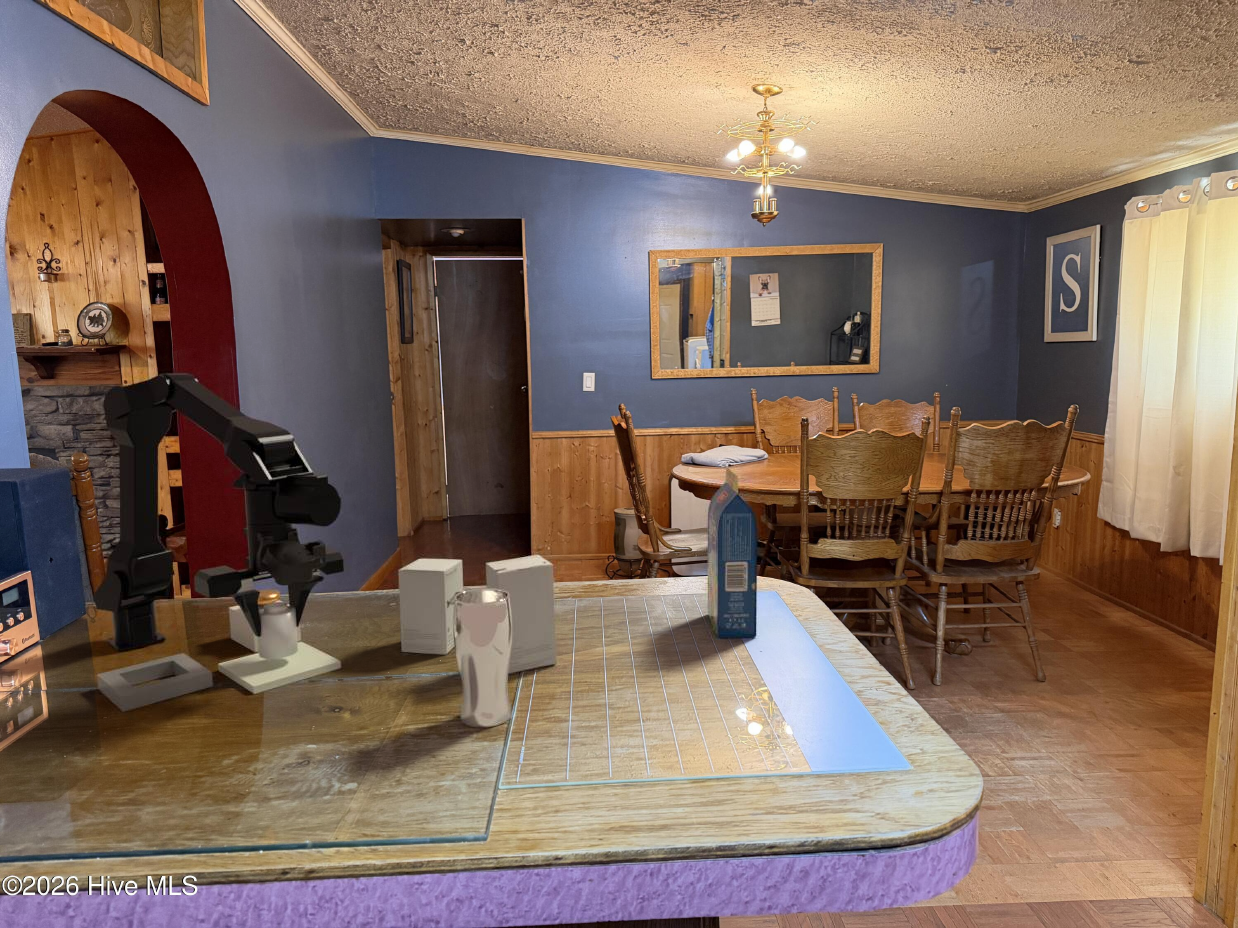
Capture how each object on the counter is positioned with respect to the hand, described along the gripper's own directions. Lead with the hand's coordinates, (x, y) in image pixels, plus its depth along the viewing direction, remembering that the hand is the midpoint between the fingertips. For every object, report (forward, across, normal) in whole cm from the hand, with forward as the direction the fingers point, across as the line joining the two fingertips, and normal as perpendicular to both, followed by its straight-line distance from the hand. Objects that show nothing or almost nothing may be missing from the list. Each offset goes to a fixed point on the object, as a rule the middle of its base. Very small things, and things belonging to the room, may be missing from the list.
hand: (276, 631), depth 113 cm
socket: (+6, -14, +6) cm, 16 cm away
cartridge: (+3, 0, 0) cm, 3 cm away
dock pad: (+6, 0, 0) cm, 6 cm away
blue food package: (+6, +57, -36) cm, 68 cm away
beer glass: (+6, +10, -34) cm, 36 cm away
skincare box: (+6, +24, -24) cm, 34 cm away
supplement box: (+6, +20, -8) cm, 22 cm away
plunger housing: (+6, +4, +14) cm, 15 cm away
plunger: (+4, +4, +14) cm, 15 cm away
